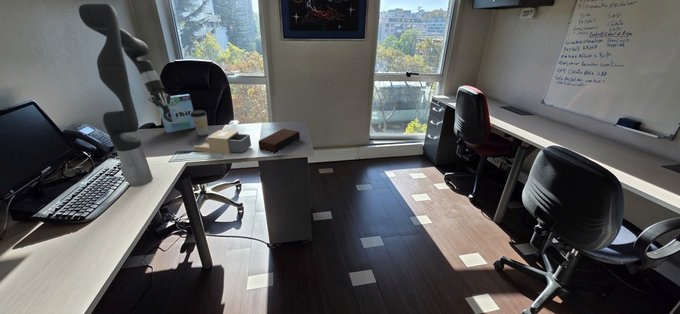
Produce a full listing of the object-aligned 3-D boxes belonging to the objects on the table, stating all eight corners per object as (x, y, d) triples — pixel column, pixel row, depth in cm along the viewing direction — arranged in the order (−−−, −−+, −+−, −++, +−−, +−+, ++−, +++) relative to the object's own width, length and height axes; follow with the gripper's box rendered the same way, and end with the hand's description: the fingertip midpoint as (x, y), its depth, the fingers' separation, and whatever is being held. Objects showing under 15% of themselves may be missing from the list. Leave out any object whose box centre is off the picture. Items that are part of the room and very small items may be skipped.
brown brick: (284, 136, 180) (284, 128, 177) (300, 140, 175) (299, 131, 172) (259, 150, 161) (258, 140, 158) (275, 154, 156) (274, 144, 153)
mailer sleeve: (229, 153, 156) (226, 138, 152) (194, 150, 159) (190, 135, 155) (240, 145, 166) (238, 131, 162) (207, 142, 170) (204, 128, 166)
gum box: (196, 125, 198) (188, 93, 188) (197, 127, 194) (189, 95, 184) (165, 131, 189) (155, 97, 179) (165, 133, 185) (155, 99, 175)
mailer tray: (242, 152, 155) (240, 141, 152) (210, 149, 158) (208, 138, 155) (251, 145, 163) (249, 134, 160) (220, 142, 167) (218, 132, 164)
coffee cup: (213, 132, 187) (209, 110, 180) (204, 137, 178) (199, 114, 172) (202, 130, 189) (197, 109, 182) (191, 135, 181) (186, 113, 174)
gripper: (146, 79, 139) (163, 113, 143) (167, 78, 151) (182, 108, 155) (135, 84, 141) (152, 117, 145) (157, 82, 153) (172, 112, 157)
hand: (167, 112), depth 150 cm, fingers closed
